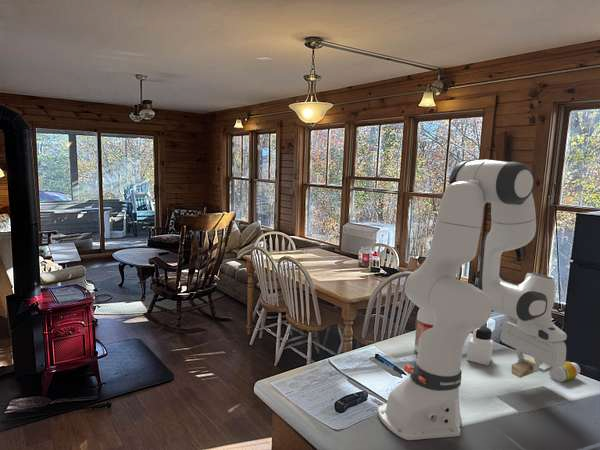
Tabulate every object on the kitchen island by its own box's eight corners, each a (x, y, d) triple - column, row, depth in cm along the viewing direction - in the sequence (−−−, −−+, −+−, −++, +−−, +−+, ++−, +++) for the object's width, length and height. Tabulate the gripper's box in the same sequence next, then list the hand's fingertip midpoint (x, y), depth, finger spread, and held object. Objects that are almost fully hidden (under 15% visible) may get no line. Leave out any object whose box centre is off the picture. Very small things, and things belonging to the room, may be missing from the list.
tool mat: (521, 415, 115) (521, 413, 115) (495, 398, 123) (495, 396, 123) (570, 403, 122) (571, 401, 122) (543, 387, 131) (543, 385, 131)
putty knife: (524, 380, 125) (524, 371, 124) (507, 371, 130) (507, 362, 130) (559, 366, 130) (559, 357, 129) (542, 357, 135) (542, 349, 135)
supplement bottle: (567, 380, 131) (585, 375, 136) (559, 363, 134) (577, 358, 138) (553, 383, 136) (571, 378, 140) (545, 367, 138) (563, 362, 142)
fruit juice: (426, 344, 160) (432, 273, 156) (446, 353, 152) (453, 279, 148) (408, 348, 155) (415, 276, 151) (428, 359, 147) (435, 282, 143)
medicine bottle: (491, 358, 150) (495, 327, 148) (488, 366, 144) (492, 333, 142) (470, 353, 154) (473, 322, 152) (466, 360, 148) (470, 328, 146)
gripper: (498, 314, 135) (493, 354, 137) (557, 339, 117) (550, 385, 118) (512, 312, 138) (507, 352, 140) (572, 337, 119) (565, 382, 121)
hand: (527, 367), depth 129 cm, fingers closed on putty knife, 3 cm apart
